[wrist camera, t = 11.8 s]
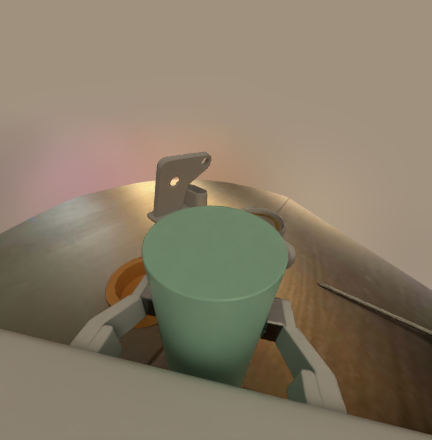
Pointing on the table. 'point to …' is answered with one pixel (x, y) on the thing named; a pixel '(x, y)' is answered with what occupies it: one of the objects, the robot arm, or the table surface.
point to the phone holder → (178, 184)
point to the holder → (128, 286)
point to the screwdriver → (378, 309)
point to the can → (212, 287)
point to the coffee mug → (277, 223)
